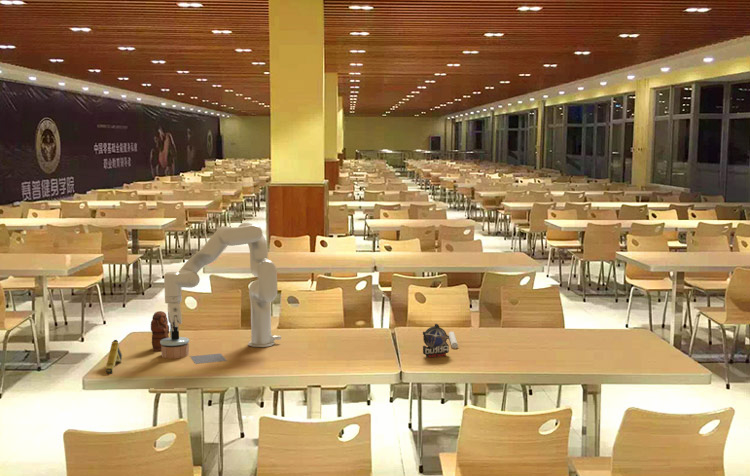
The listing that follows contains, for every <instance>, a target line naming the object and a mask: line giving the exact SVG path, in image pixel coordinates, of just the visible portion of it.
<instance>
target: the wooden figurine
mask: <svg viewBox="0 0 750 476" xmlns="http://www.w3.org/2000/svg"><path fill="white" fill-rule="evenodd" d="M151 319H152V320H151V321H150V331H151V333H152V334H151V344H152V350H153V352H161V344H160V340H162V339H165V338H170V337H169V336H170V335H169V334H170V325H169V324H168V323H169V320H168V316H167V313H165V311H162V310H161V311H160V310H159V311H156V312H154V313H153V315H152V318H151Z"/></svg>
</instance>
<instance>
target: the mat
mask: <svg viewBox="0 0 750 476" xmlns="http://www.w3.org/2000/svg"><path fill="white" fill-rule="evenodd" d="M189 357H190V359H191V360H192V361H193V362H194V364H195V365H197V364H207V363H210V364H211V363H216V362H217V363H218V362H220V363H221V362H228V361H227V359H226V357H224V355H223V354H222V353H211V354H203V355H202V354H201V355H193V356H192V355H190V356H189Z"/></svg>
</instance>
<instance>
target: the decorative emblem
mask: <svg viewBox="0 0 750 476" xmlns="http://www.w3.org/2000/svg"><path fill="white" fill-rule="evenodd" d="M422 335H423V337H422V338H423V343H424V344H425V345H422V354H423V355H425V357H426V358H428V359H431V358H440V357H441V358H442V357H446V356H447V355H446V354H448V353H449V352H450V349H449V347H450V344H448V342H447V341H448V340H450V338H449V334H447V332H446V331H445V330H444V329H443V328H441V327H440V326H439V324H437V323H435V324H434V326H431V327H428V328H427V329H426V330H425V331H423V332H422Z"/></svg>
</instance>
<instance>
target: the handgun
mask: <svg viewBox="0 0 750 476" xmlns="http://www.w3.org/2000/svg"><path fill="white" fill-rule="evenodd" d="M110 345H111V346H110V350H109V354H108V357H107V362H106V366H105V371H106V374H107V373H110V374H113V372H114V368H115V365H116V364H121V363H122V360H123V358H122V357H123V354H122V351H121V349H120V344H119V341H118V340H117V339H114V340H113V341H112V342H111V344H110Z"/></svg>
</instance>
